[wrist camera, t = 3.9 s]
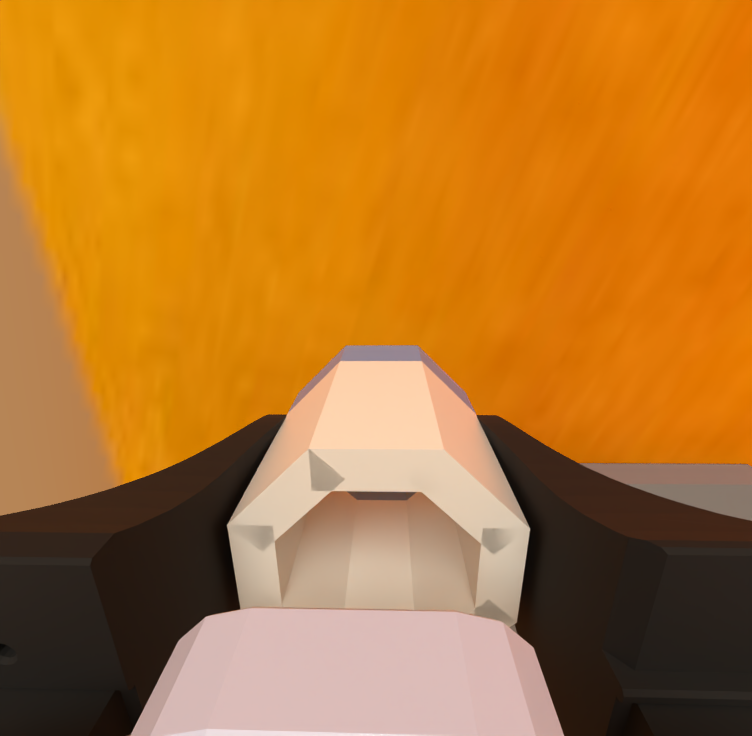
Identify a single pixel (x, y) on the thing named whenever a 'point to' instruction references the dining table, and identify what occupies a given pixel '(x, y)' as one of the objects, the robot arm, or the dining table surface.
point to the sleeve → (381, 498)
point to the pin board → (689, 485)
